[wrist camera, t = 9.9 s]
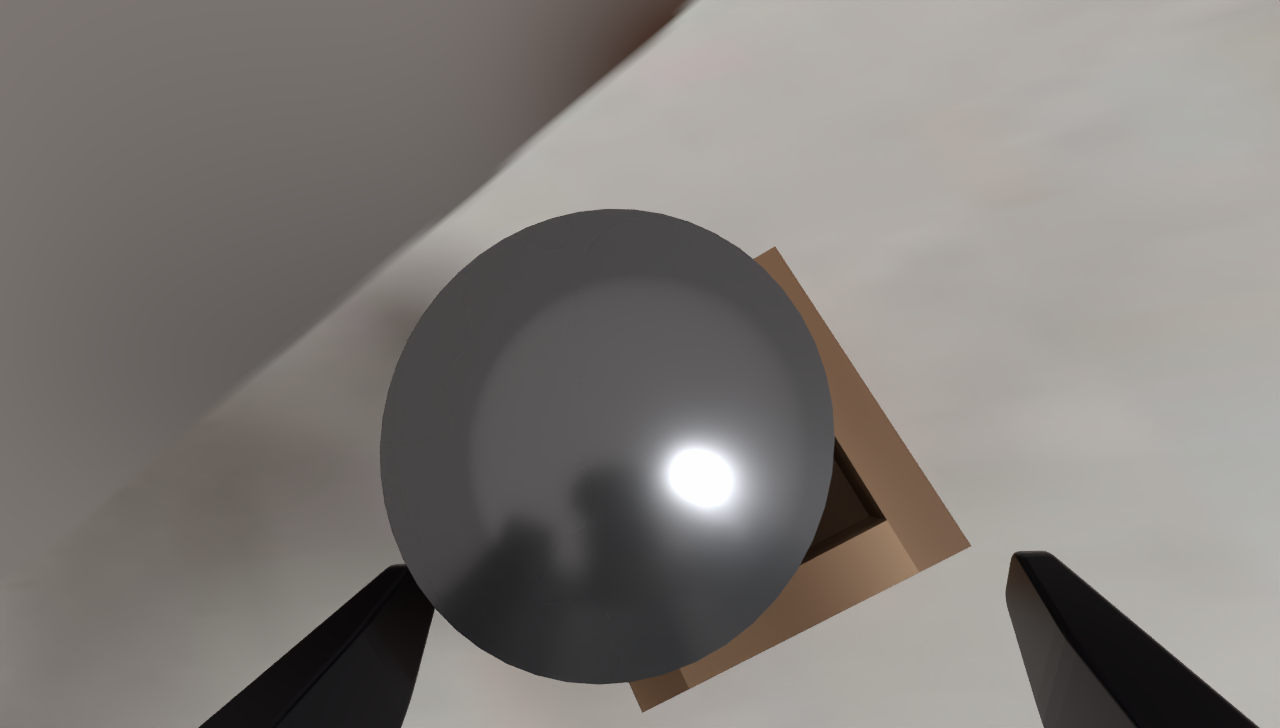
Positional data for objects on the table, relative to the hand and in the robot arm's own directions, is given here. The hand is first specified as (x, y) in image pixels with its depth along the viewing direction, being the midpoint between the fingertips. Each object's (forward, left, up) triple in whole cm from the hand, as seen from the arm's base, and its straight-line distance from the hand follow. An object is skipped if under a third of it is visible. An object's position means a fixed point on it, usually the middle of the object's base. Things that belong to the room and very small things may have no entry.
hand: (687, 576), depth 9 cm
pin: (+1, +2, -8) cm, 8 cm away
